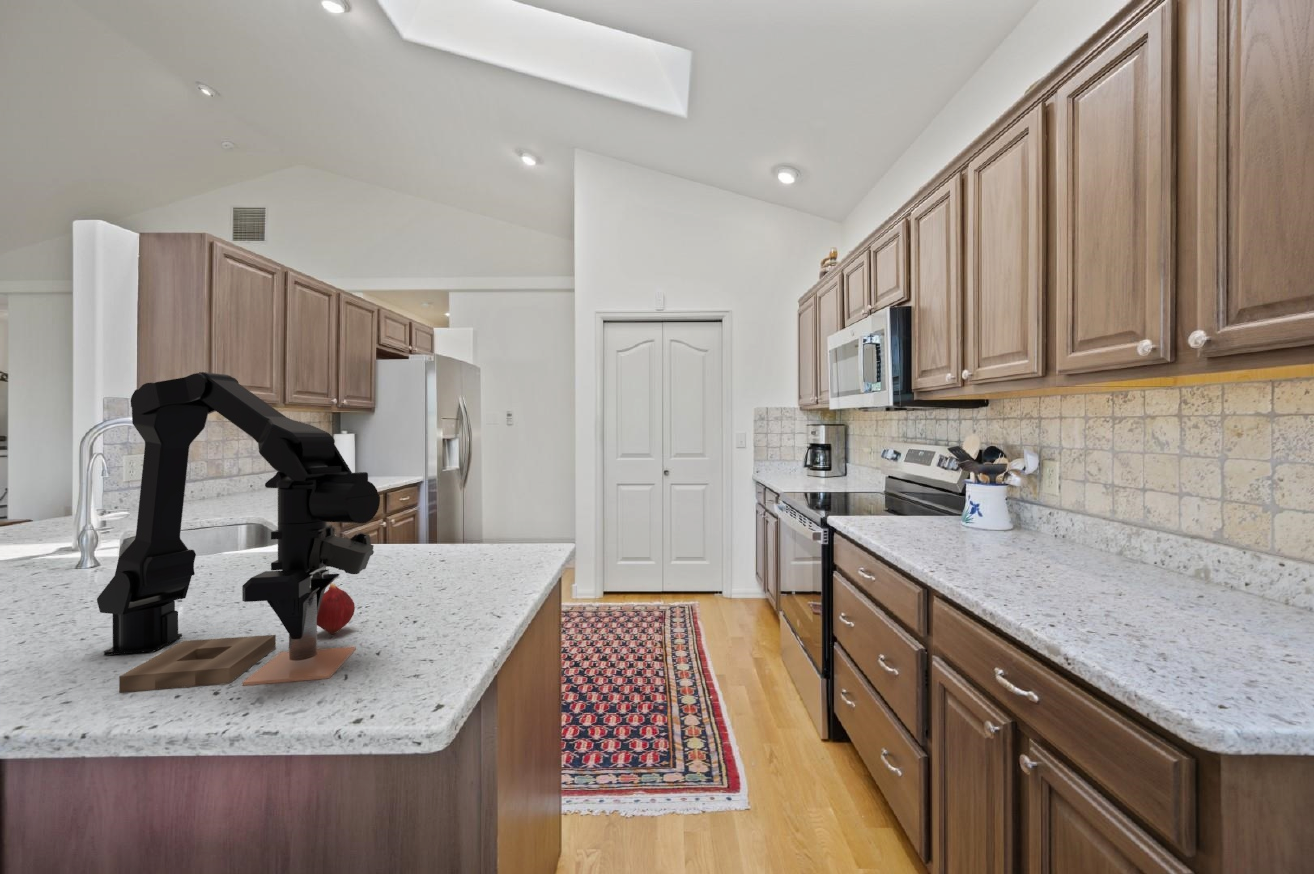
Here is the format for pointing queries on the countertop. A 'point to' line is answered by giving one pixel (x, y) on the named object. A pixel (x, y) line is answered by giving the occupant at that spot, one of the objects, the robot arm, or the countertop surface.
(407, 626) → the countertop surface
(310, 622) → the peg
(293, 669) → the tile
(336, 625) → the onion
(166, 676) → the plate
